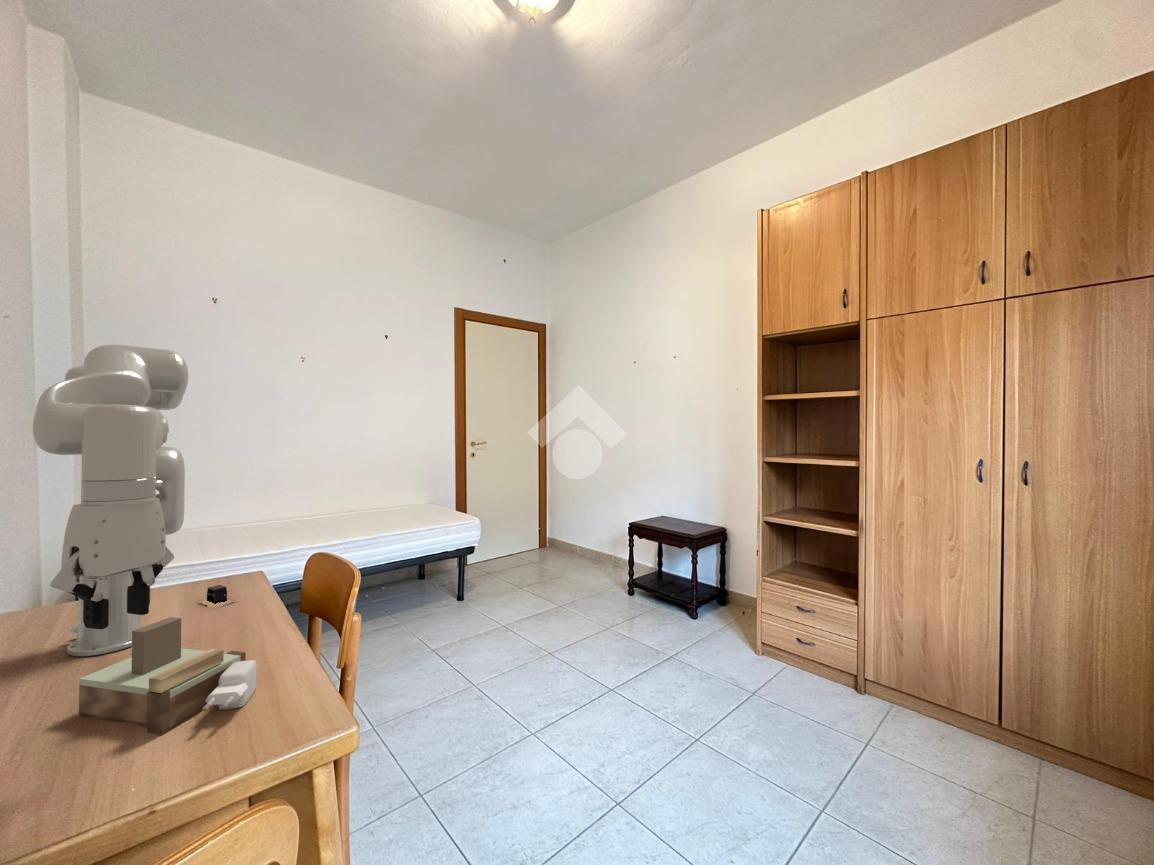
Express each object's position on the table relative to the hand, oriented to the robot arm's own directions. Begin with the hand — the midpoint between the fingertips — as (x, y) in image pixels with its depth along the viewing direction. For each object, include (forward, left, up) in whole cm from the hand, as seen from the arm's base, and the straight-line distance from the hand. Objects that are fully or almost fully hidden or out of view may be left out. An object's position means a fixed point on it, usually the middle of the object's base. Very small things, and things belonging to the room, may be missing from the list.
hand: (118, 619), depth 66 cm
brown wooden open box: (-8, +12, -19) cm, 24 cm away
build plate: (-43, +52, -20) cm, 70 cm away
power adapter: (+6, +13, -20) cm, 24 cm away
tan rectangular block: (0, +10, -13) cm, 16 cm away
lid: (-8, +12, -14) cm, 20 cm away
